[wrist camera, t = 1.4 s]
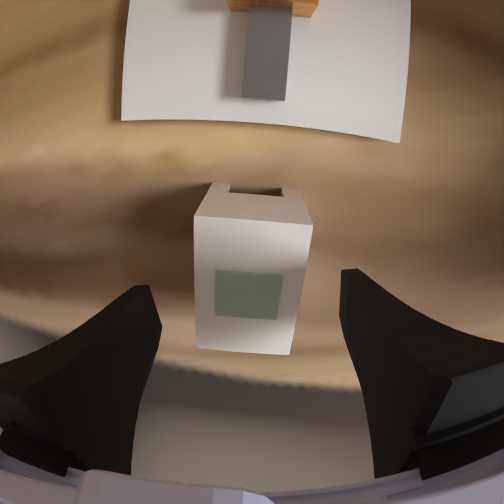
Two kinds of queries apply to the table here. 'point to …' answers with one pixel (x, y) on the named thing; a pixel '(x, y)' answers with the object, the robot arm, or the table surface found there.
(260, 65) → the din rail
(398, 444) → the robot arm
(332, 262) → the table surface
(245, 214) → the block
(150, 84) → the rail board
